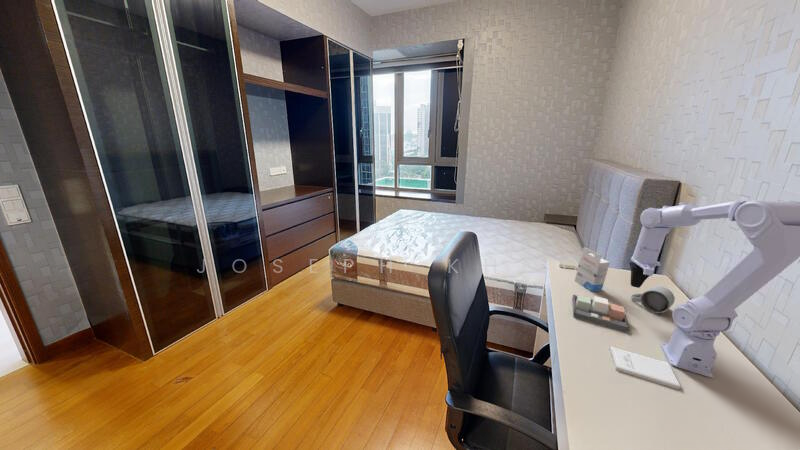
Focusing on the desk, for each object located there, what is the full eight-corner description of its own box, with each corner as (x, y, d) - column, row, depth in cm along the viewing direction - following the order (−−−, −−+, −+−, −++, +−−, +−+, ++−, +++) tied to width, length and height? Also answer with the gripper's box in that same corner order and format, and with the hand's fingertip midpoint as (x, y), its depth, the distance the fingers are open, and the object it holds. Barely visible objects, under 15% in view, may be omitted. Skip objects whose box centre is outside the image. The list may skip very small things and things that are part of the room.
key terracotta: (622, 321, 90) (625, 312, 89) (608, 317, 91) (611, 309, 90) (620, 315, 93) (623, 306, 92) (607, 311, 94) (609, 303, 93)
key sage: (588, 312, 94) (591, 303, 93) (575, 308, 95) (578, 300, 94) (587, 306, 97) (590, 298, 96) (575, 303, 98) (577, 295, 97)
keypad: (627, 331, 86) (628, 326, 86) (573, 316, 92) (574, 311, 92) (620, 311, 96) (622, 306, 96) (572, 298, 102) (573, 293, 102)
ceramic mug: (672, 309, 98) (679, 289, 96) (665, 317, 94) (673, 297, 91) (634, 295, 106) (640, 276, 104) (626, 302, 102) (632, 283, 99)
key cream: (606, 313, 91) (608, 304, 90) (592, 309, 93) (595, 301, 92) (604, 307, 94) (607, 299, 93) (591, 304, 96) (594, 295, 95)
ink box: (602, 290, 108) (613, 254, 104) (591, 291, 107) (602, 255, 103) (584, 279, 116) (593, 245, 111) (573, 280, 115) (582, 246, 110)
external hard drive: (678, 391, 67) (614, 371, 72) (665, 367, 75) (608, 350, 79) (680, 386, 67) (616, 366, 72) (668, 362, 74) (610, 345, 79)
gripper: (673, 258, 80) (657, 301, 85) (658, 242, 92) (644, 279, 97) (641, 253, 83) (627, 294, 88) (631, 237, 95) (619, 274, 100)
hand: (634, 286), depth 92 cm, fingers closed
